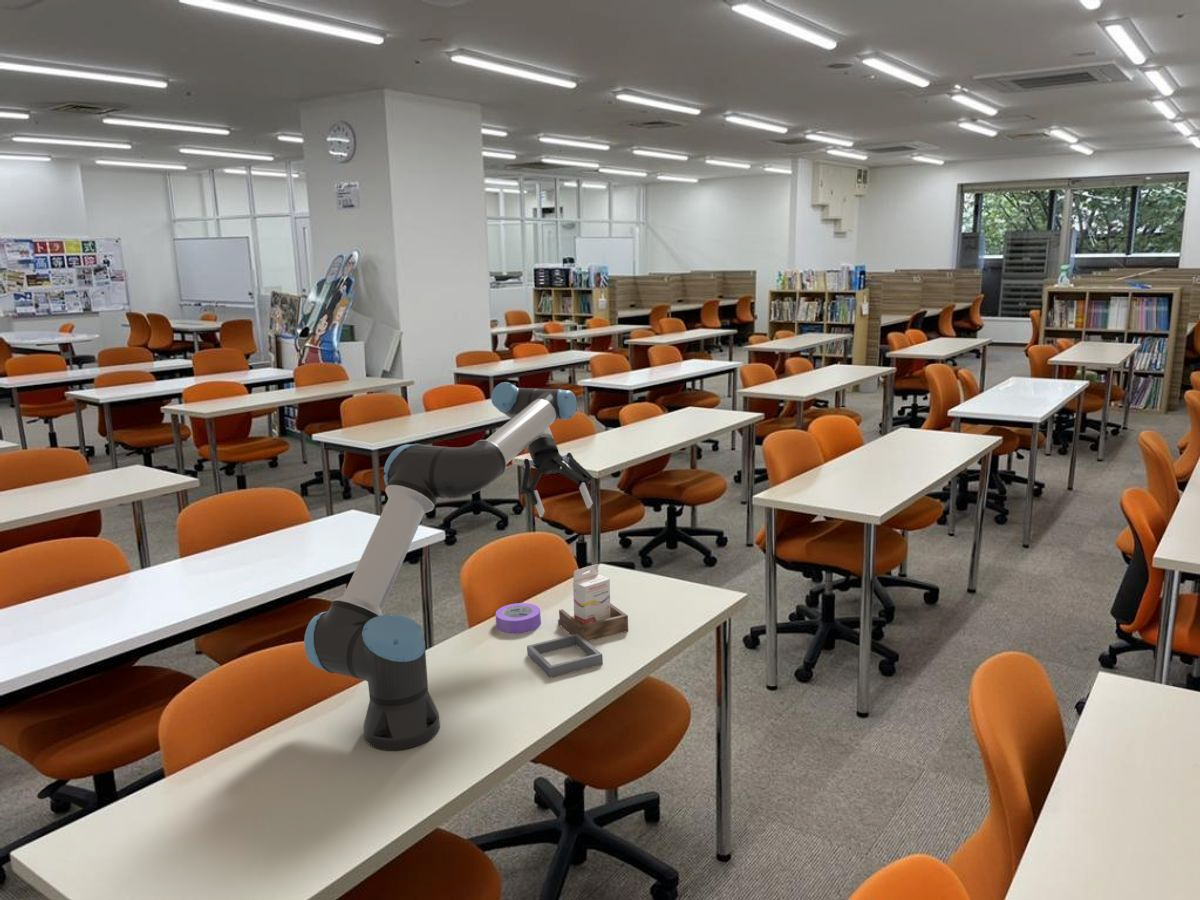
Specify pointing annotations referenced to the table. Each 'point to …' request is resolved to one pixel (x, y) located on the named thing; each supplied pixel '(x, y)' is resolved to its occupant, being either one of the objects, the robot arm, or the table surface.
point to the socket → (568, 666)
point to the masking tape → (518, 618)
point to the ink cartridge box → (591, 595)
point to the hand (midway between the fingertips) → (566, 510)
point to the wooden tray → (595, 625)
